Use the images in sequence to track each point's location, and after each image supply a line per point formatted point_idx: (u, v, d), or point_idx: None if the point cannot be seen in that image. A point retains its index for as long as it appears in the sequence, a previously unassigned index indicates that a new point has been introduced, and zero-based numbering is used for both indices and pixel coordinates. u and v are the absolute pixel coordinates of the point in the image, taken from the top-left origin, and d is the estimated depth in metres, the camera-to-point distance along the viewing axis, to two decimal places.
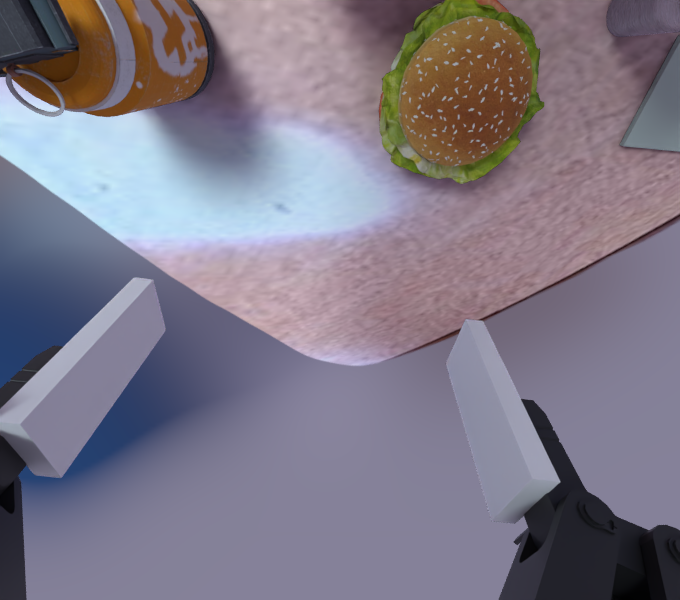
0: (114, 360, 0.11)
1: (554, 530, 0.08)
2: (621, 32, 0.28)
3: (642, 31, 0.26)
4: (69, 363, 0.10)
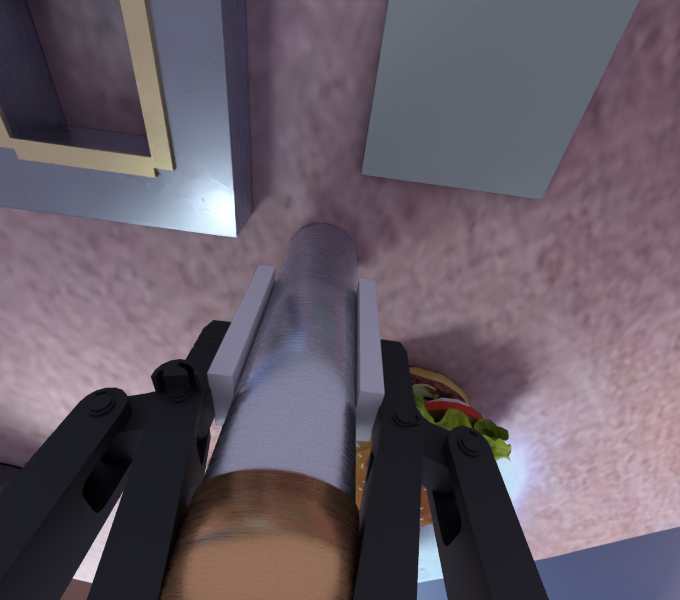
0: None
1: (377, 444, 0.09)
2: None
3: None
4: (244, 332, 0.12)
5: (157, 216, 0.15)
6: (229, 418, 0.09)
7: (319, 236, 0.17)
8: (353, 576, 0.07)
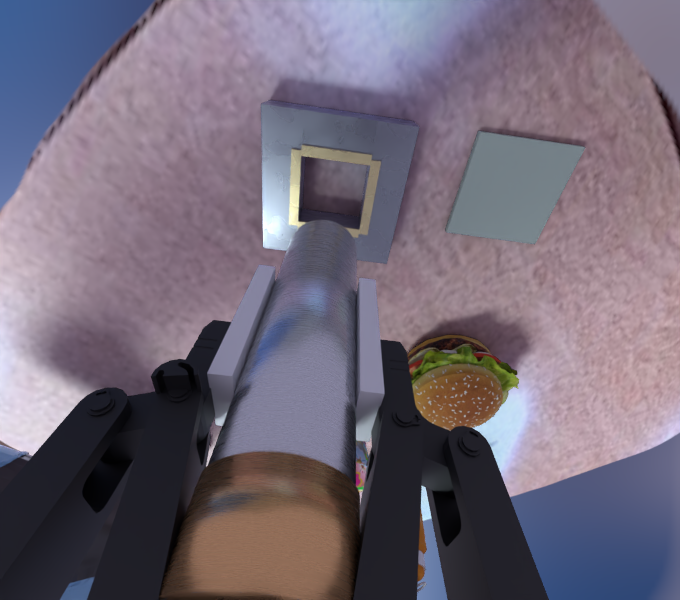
0: None
1: (377, 444, 0.09)
2: None
3: None
4: (244, 332, 0.12)
5: None
6: (233, 405, 0.09)
7: (320, 232, 0.17)
8: (354, 553, 0.07)
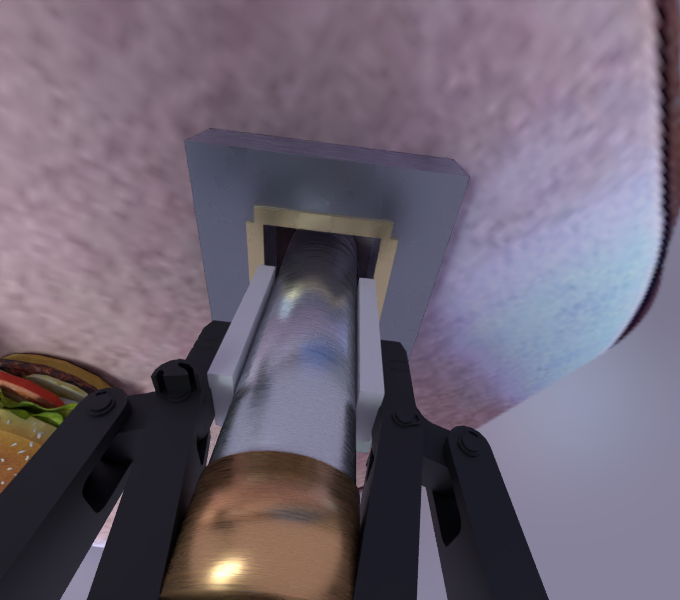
0: None
1: (378, 444, 0.09)
2: None
3: None
4: (244, 332, 0.12)
5: (219, 303, 0.19)
6: (233, 405, 0.09)
7: (320, 231, 0.17)
8: (354, 552, 0.07)
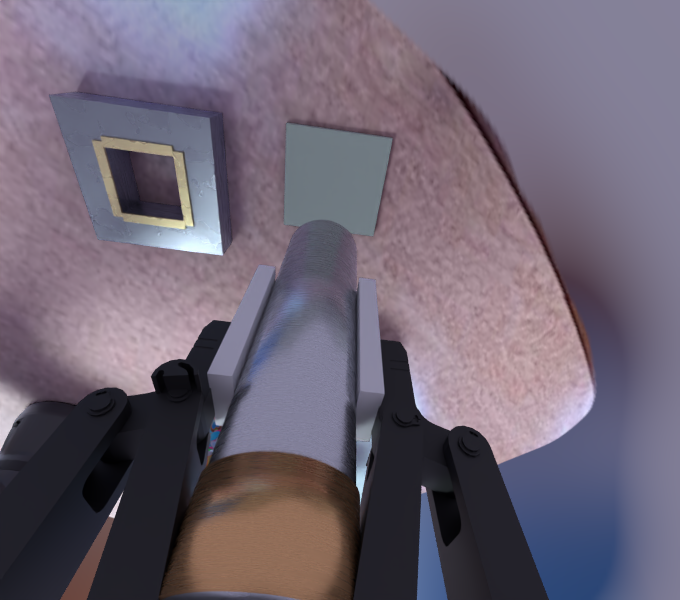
0: None
1: (377, 444, 0.09)
2: None
3: None
4: (244, 332, 0.12)
5: (184, 245, 0.32)
6: (233, 405, 0.09)
7: (320, 231, 0.17)
8: (354, 553, 0.07)
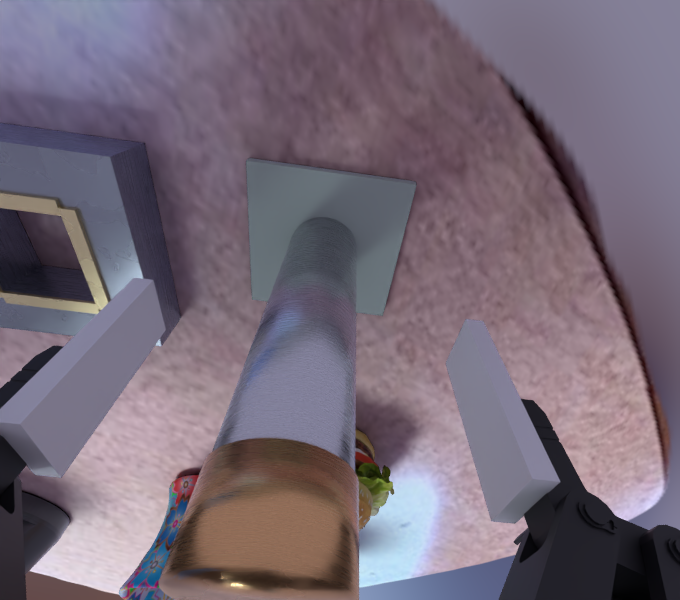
0: (114, 360, 0.11)
1: (554, 530, 0.08)
2: None
3: None
4: (69, 363, 0.10)
5: None
6: (236, 395, 0.10)
7: (321, 229, 0.17)
8: (352, 534, 0.07)
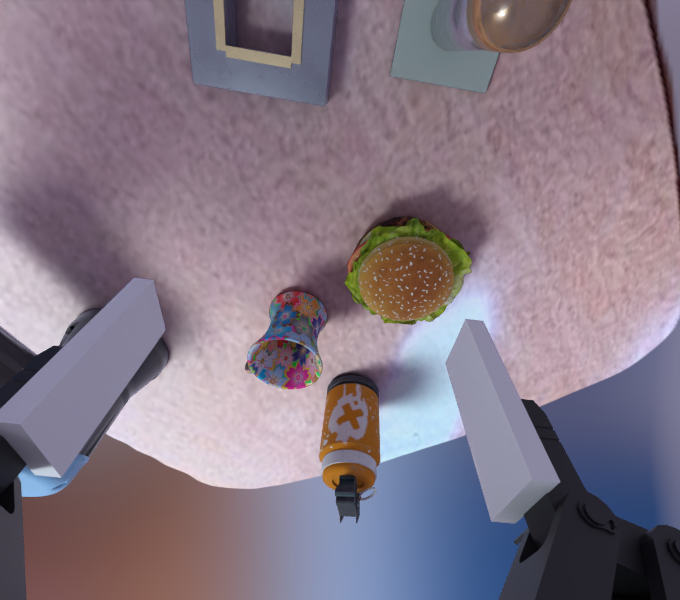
0: (114, 360, 0.11)
1: (554, 530, 0.08)
2: None
3: None
4: (69, 363, 0.10)
5: (285, 92, 0.30)
6: None
7: None
8: None
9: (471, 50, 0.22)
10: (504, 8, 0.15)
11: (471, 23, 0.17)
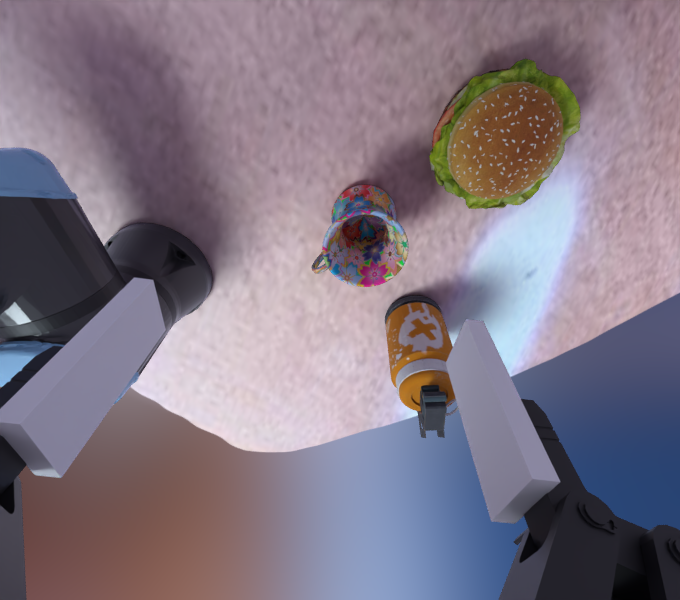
0: (114, 360, 0.11)
1: (554, 530, 0.08)
2: None
3: None
4: (69, 363, 0.10)
5: None
6: None
7: None
8: None
9: None
10: None
11: None
